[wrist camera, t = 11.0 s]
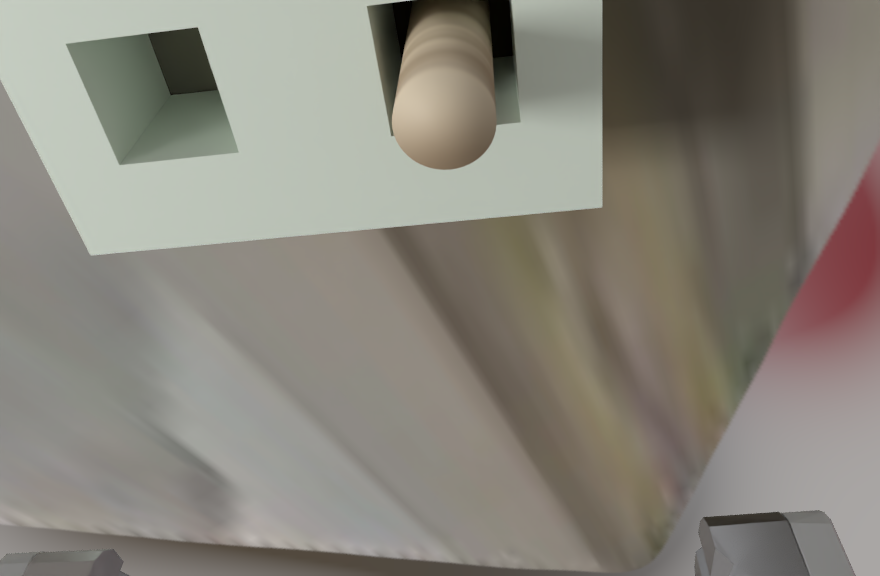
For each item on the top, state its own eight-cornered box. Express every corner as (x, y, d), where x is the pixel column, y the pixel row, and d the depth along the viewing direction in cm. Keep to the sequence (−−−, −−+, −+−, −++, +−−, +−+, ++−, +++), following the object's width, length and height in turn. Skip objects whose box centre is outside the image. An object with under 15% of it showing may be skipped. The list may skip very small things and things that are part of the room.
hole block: (18, -110, 27) (-76, -68, 23) (577, -194, 25) (602, -167, 21) (141, 178, 35) (90, 255, 30) (583, 132, 33) (602, 207, 28)
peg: (406, -28, 29) (383, 79, 21) (485, -38, 28) (491, 67, 21) (418, 49, 31) (401, 174, 23) (492, 41, 30) (500, 164, 22)
